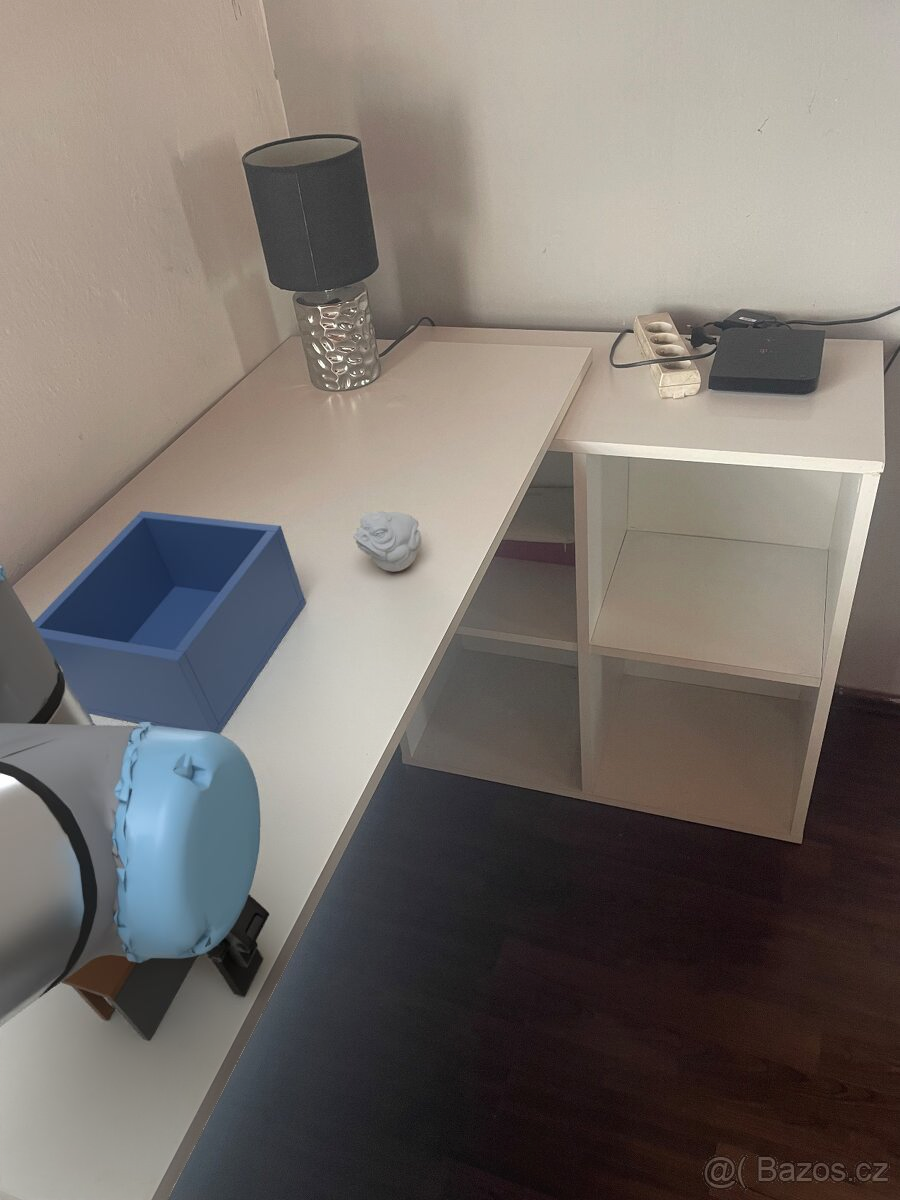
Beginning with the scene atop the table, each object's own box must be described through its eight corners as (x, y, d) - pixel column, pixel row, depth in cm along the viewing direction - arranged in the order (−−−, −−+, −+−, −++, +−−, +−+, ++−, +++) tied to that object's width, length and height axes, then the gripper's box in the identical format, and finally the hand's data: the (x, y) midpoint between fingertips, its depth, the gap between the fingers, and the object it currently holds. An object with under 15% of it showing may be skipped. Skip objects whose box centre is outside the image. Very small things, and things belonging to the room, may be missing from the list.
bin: (215, 739, 75) (177, 660, 69) (69, 709, 80) (21, 633, 74) (306, 603, 87) (281, 525, 81) (174, 584, 93) (141, 510, 86)
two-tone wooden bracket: (233, 891, 64) (205, 840, 59) (149, 1041, 56) (110, 996, 52) (187, 878, 65) (155, 828, 61) (99, 1023, 57) (56, 978, 53)
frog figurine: (352, 568, 91) (337, 514, 86) (408, 539, 93) (396, 485, 88) (381, 596, 87) (367, 541, 82) (439, 565, 89) (429, 510, 84)
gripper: (260, 747, 45) (348, 946, 59) (-86, 676, 53) (64, 866, 67) (183, 873, 40) (299, 1058, 54) (-187, 774, 48) (-1, 957, 62)
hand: (169, 952), depth 60 cm, fingers open, 12 cm apart
